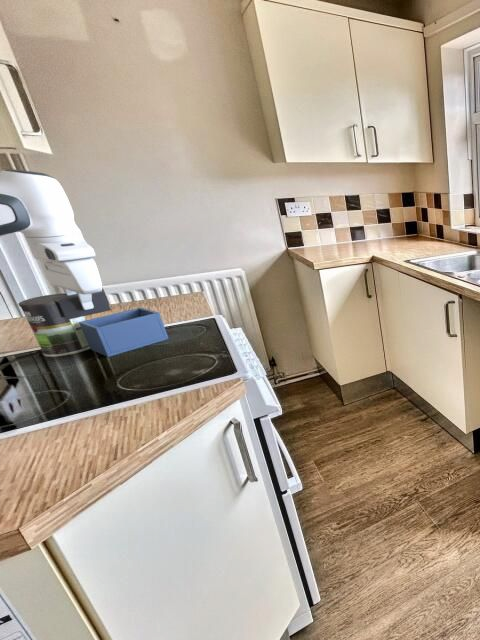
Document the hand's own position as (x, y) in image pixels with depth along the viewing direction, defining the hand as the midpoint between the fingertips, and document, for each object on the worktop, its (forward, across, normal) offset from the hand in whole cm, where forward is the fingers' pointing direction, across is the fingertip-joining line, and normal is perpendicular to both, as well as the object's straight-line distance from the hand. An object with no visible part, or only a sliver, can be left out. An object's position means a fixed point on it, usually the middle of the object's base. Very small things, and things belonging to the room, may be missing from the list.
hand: (83, 307), depth 99 cm
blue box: (+14, -9, +8) cm, 19 cm away
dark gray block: (+2, 0, 0) cm, 2 cm away
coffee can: (+15, -19, -1) cm, 24 cm away
